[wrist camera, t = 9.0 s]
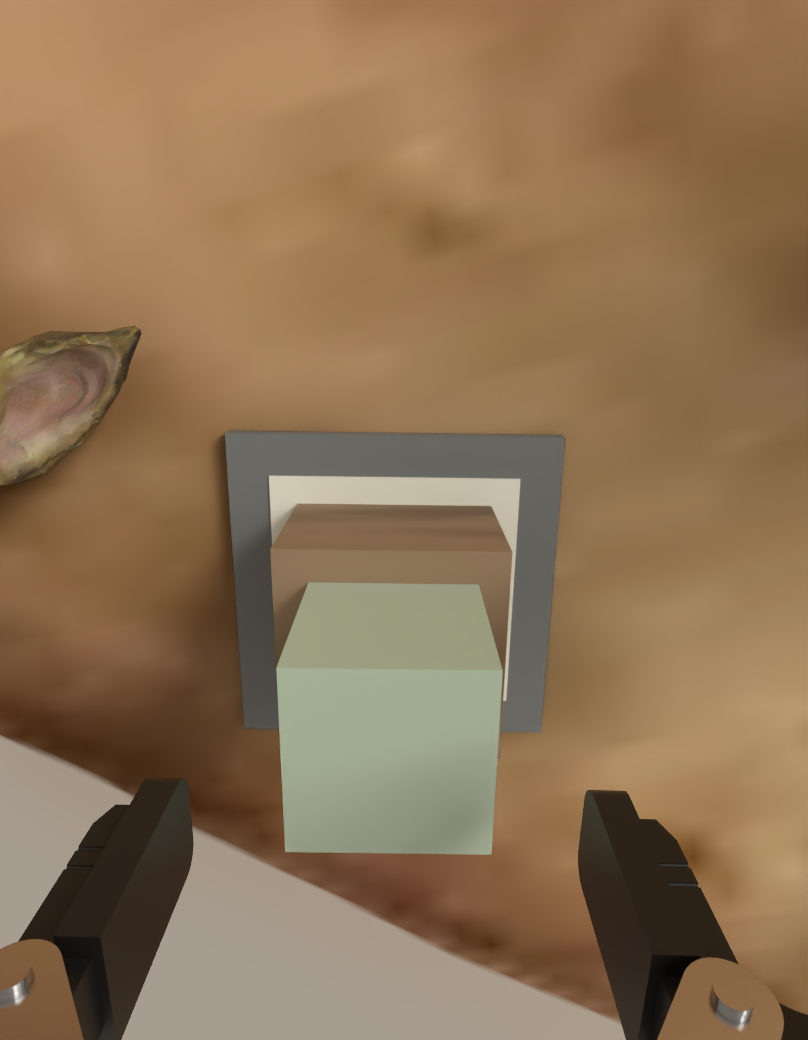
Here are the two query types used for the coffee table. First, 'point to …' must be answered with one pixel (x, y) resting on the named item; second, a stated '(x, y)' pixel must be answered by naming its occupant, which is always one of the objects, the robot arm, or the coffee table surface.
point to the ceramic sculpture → (57, 395)
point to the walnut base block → (392, 556)
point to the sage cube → (389, 720)
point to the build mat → (396, 481)
